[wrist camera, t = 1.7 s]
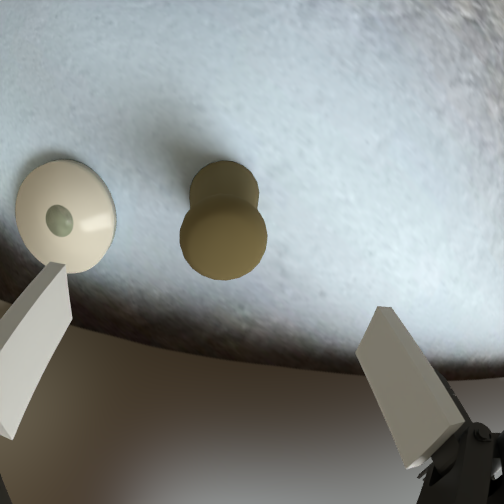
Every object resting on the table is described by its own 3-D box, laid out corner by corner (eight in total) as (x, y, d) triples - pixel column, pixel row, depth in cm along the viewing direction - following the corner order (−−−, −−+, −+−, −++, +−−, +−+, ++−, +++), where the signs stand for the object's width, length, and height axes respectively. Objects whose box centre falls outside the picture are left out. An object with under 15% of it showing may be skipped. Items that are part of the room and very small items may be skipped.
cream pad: (21, 156, 23) (13, 159, 22) (120, 163, 25) (114, 167, 24) (27, 257, 28) (21, 263, 27) (116, 273, 30) (111, 281, 28)
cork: (273, 198, 28) (299, 255, 18) (220, 240, 29) (218, 313, 19) (228, 146, 25) (229, 172, 16) (175, 191, 27) (146, 245, 17)
